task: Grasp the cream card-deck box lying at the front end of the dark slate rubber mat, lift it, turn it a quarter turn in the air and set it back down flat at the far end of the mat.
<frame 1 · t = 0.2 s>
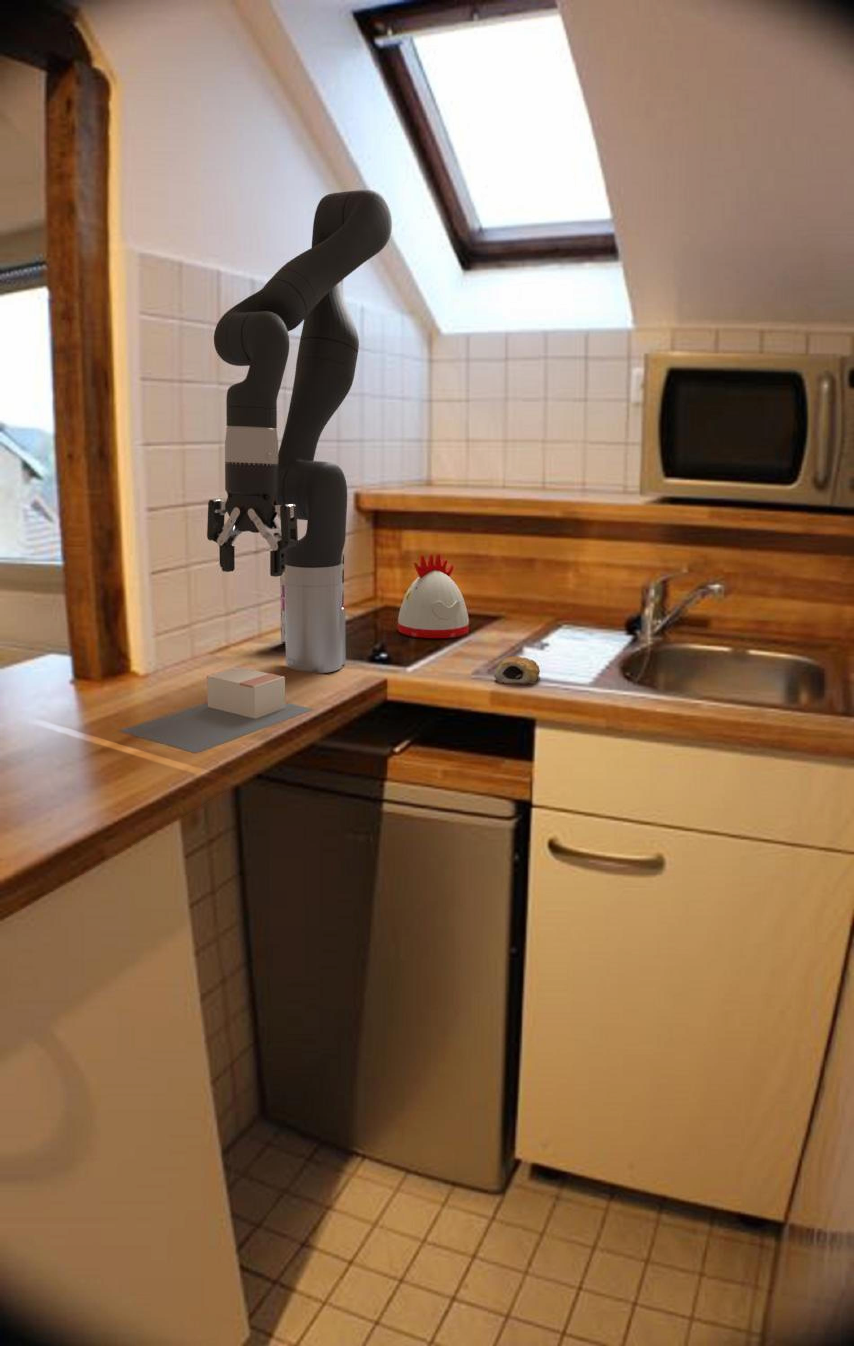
hand: (251, 573, 137), 18 cm above the worktop, tool pointing down, fingers open, 8 cm apart
card deck: (246, 707, 130), point 1 cm above the worktop, touching mat
candy bar box: (313, 642, 172), on the worktop
mat: (220, 723, 125), on the worktop
pastry: (517, 680, 150), on the worktop
kitchen timer: (433, 631, 183), on the worktop
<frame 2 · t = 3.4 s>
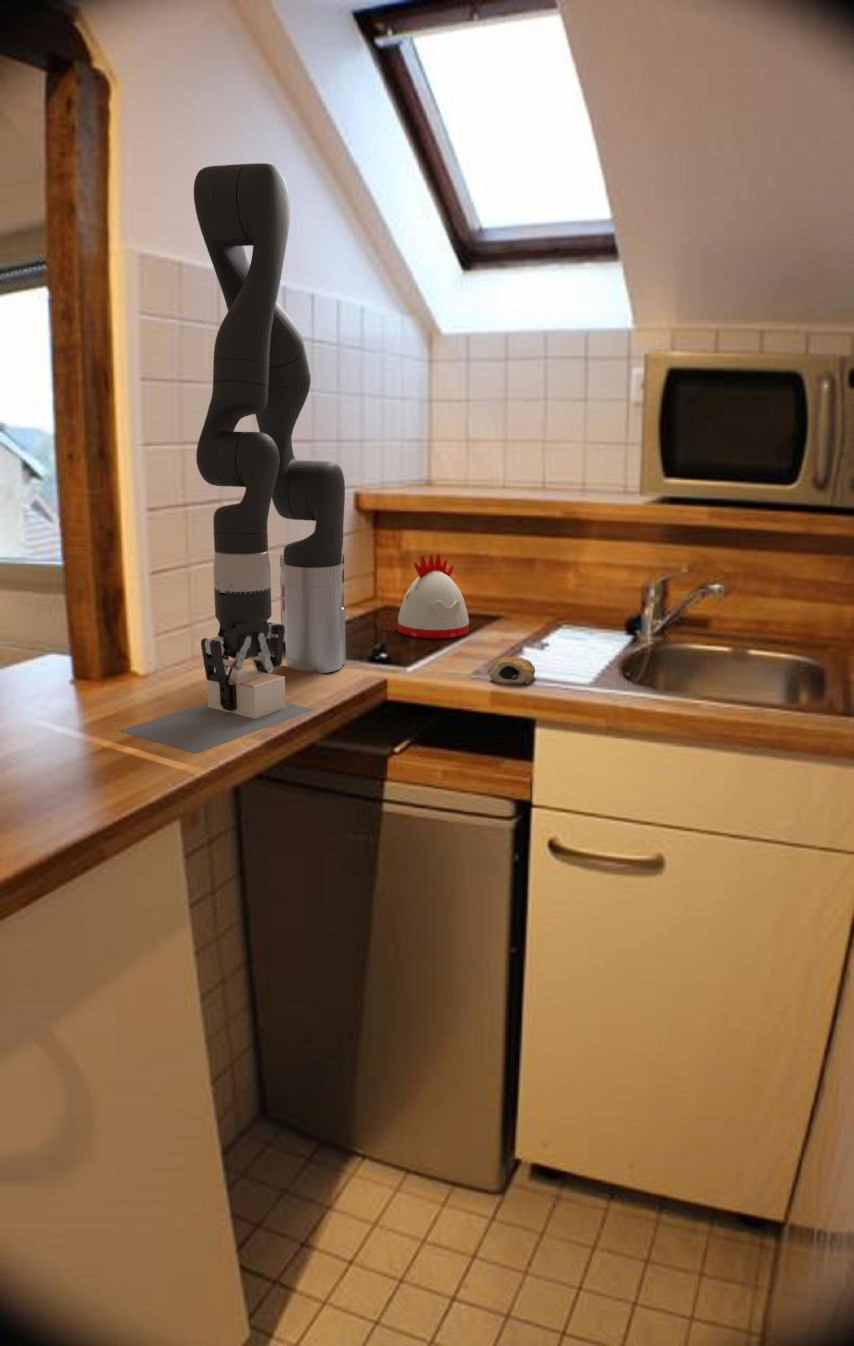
hand: (246, 703, 130), 1 cm above the worktop, tool pointing down, fingers closed on card deck, 6 cm apart
card deck: (246, 707, 130), point 1 cm above the worktop, touching gripper, mat
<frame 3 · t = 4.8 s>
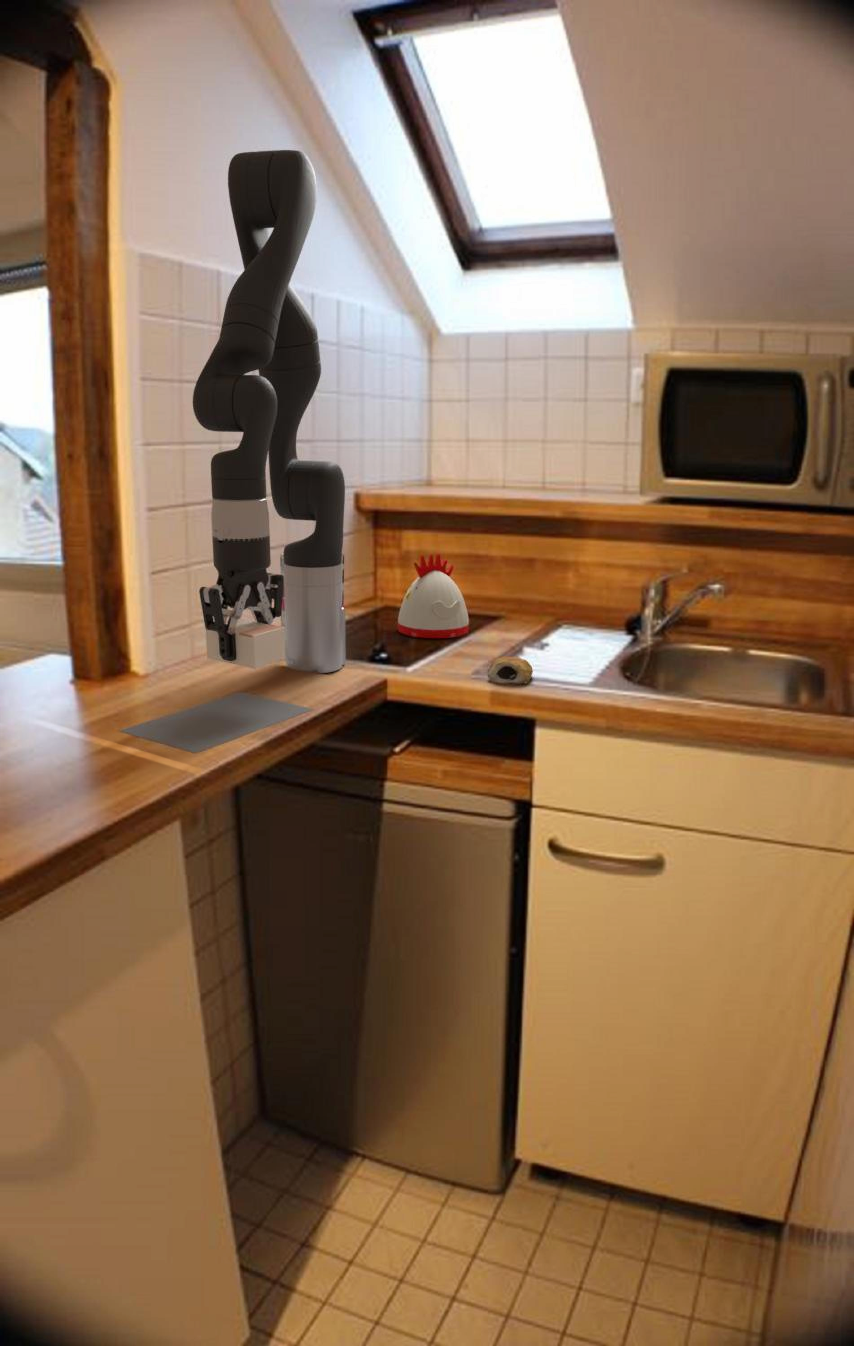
hand: (246, 654, 128), 8 cm above the worktop, tool pointing down, fingers closed on card deck, 6 cm apart
card deck: (246, 658, 129), point 8 cm above the worktop, touching gripper
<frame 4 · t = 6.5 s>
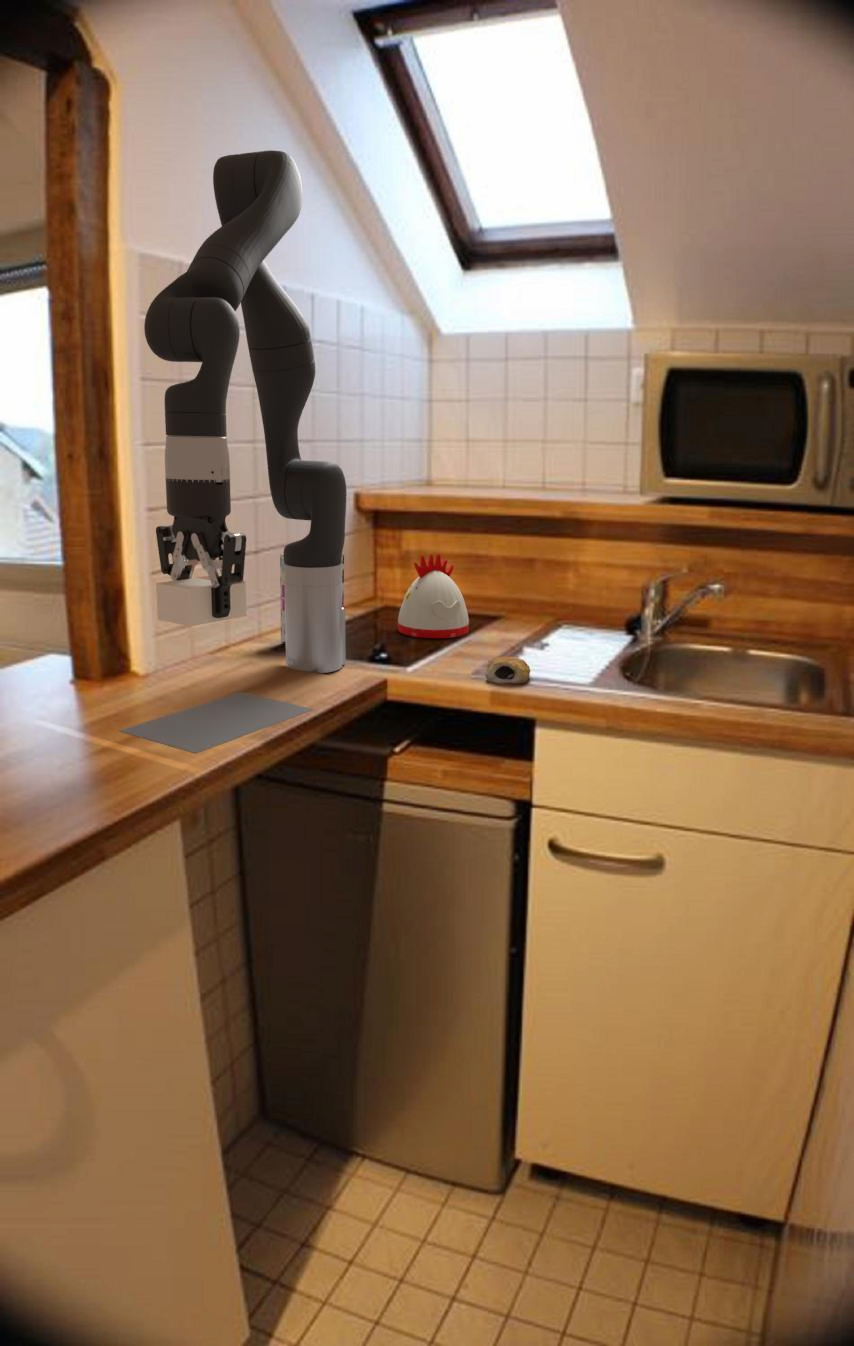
hand: (202, 613, 116), 16 cm above the worktop, tool pointing down, fingers closed on card deck, 6 cm apart
card deck: (202, 617, 116), point 16 cm above the worktop, touching gripper
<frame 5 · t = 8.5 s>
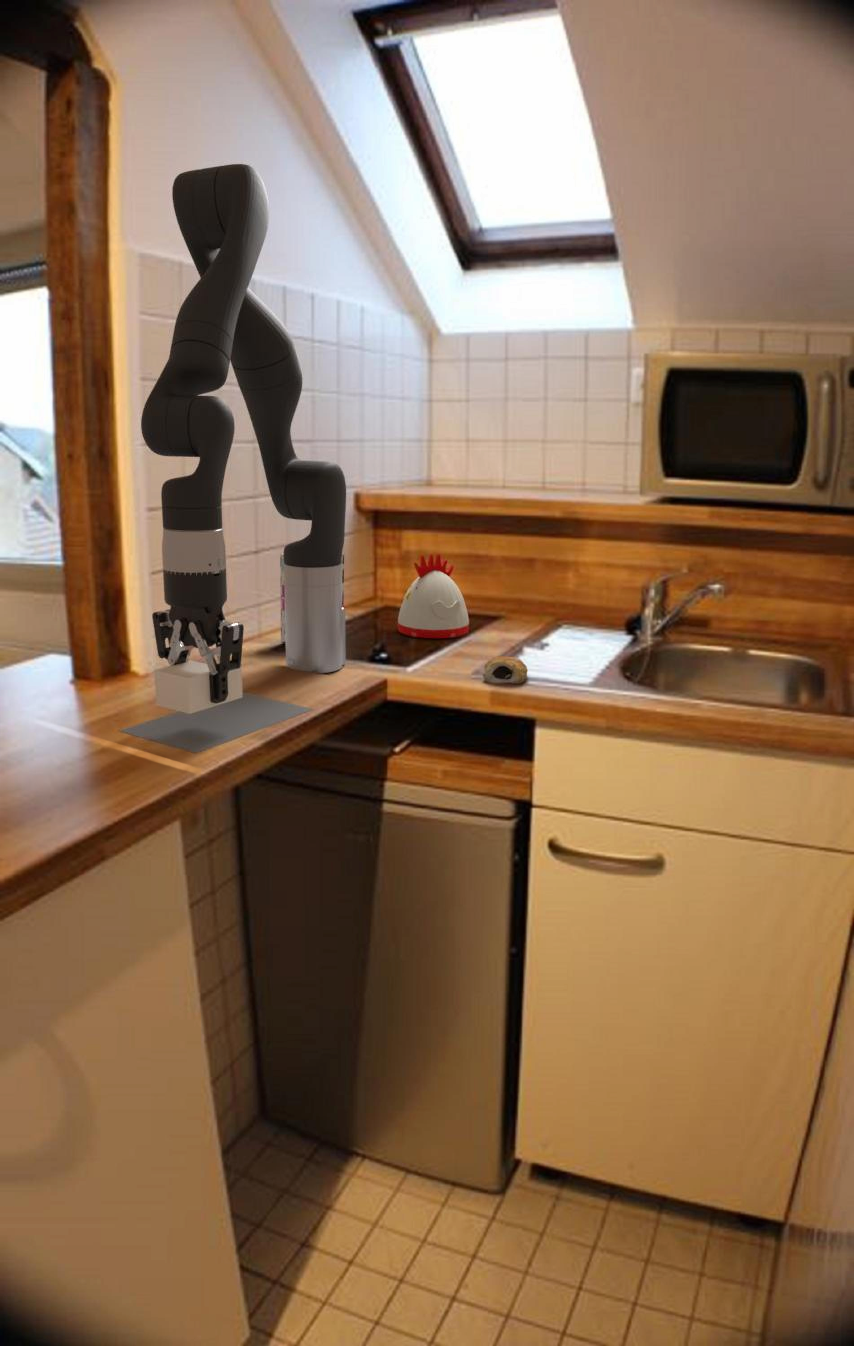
hand: (200, 696, 118), 5 cm above the worktop, tool pointing down, fingers closed on card deck, 6 cm apart
card deck: (200, 701, 118), point 5 cm above the worktop, touching gripper
when the fingers open (3 cm above the worktop, at t = 10.1 s): card deck drops 1 cm, resting on mat.
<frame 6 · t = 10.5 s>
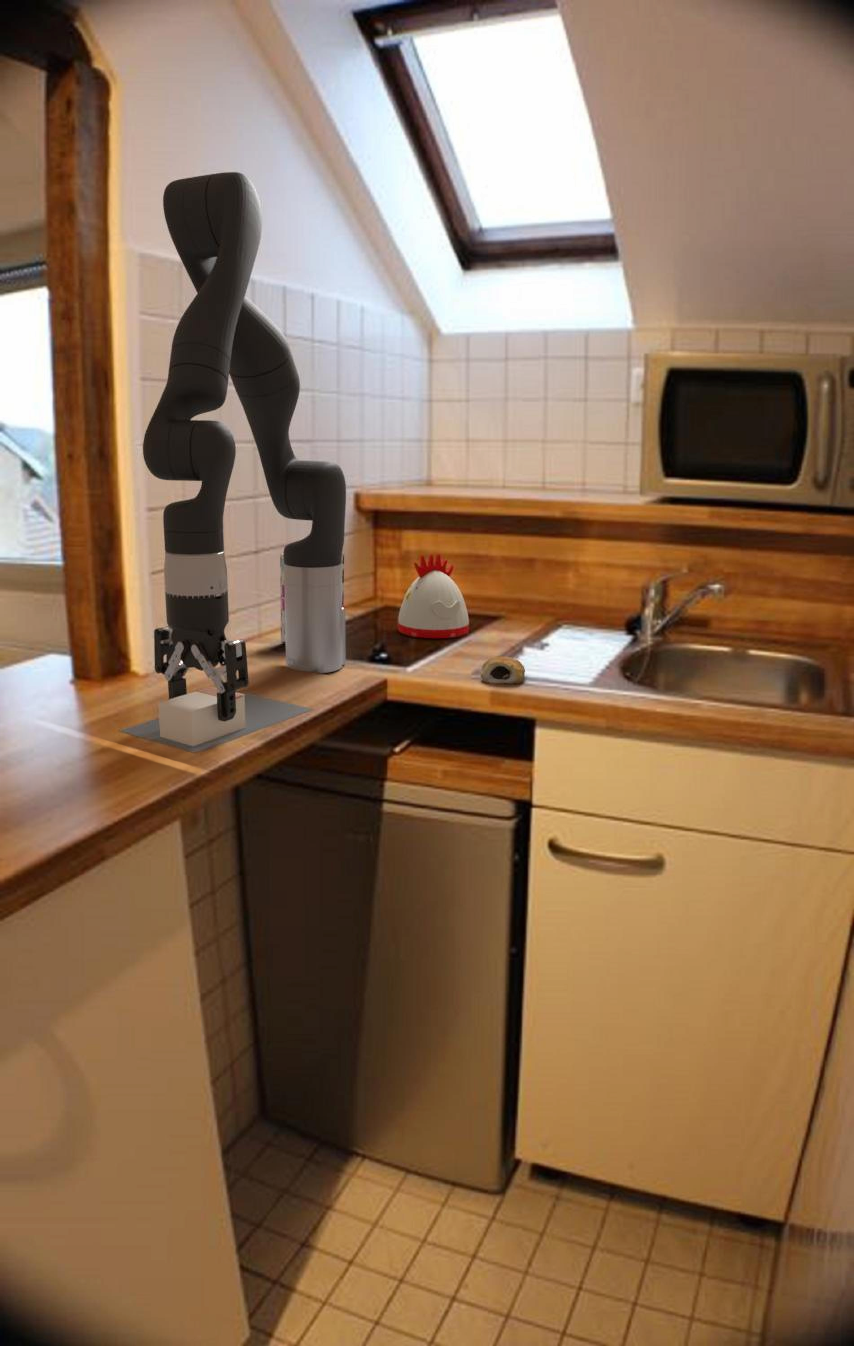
hand: (202, 713, 119), 3 cm above the worktop, tool pointing down, fingers open, 8 cm apart
card deck: (203, 732, 120), point 1 cm above the worktop, touching mat
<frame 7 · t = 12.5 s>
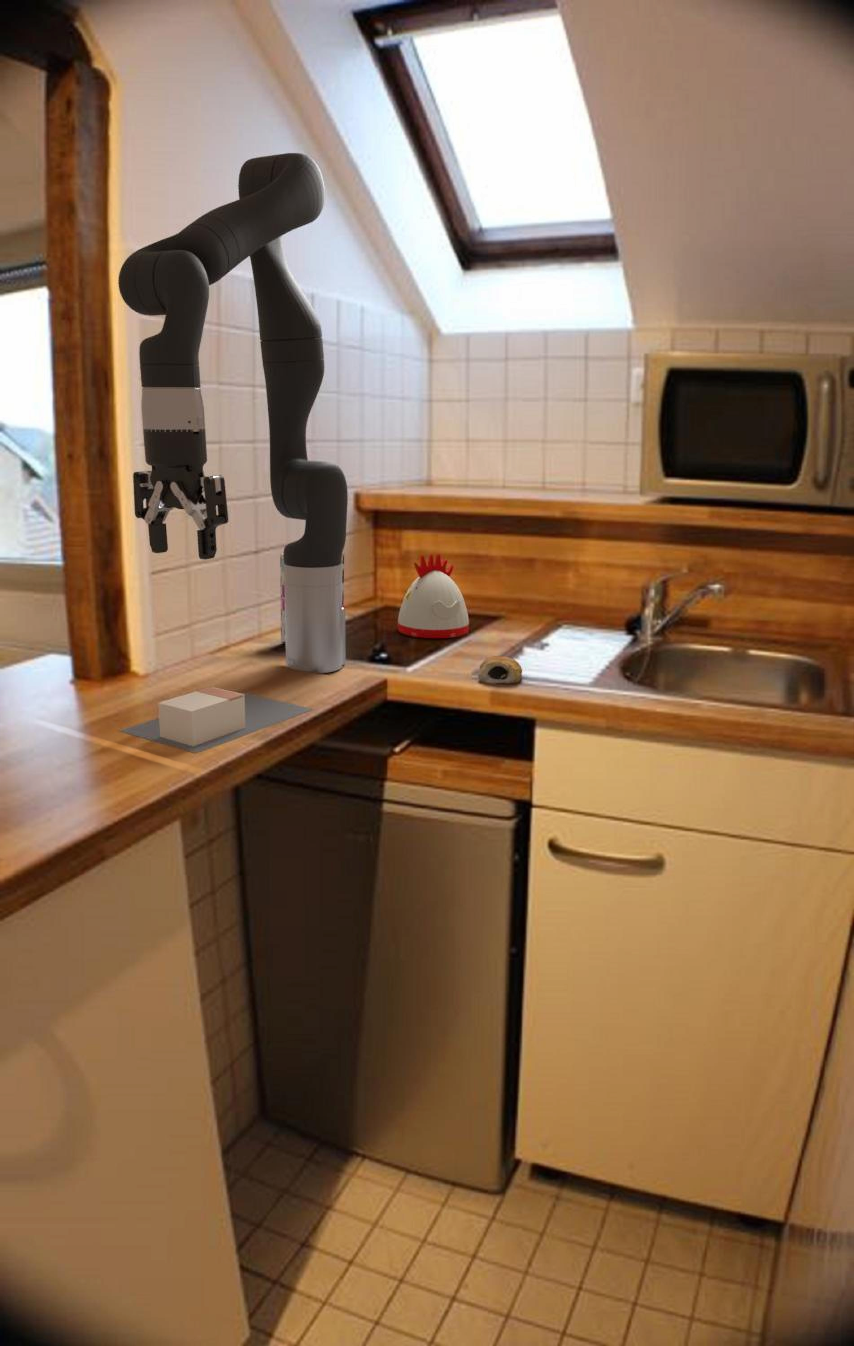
hand: (183, 555, 121), 22 cm above the worktop, tool pointing down, fingers open, 8 cm apart
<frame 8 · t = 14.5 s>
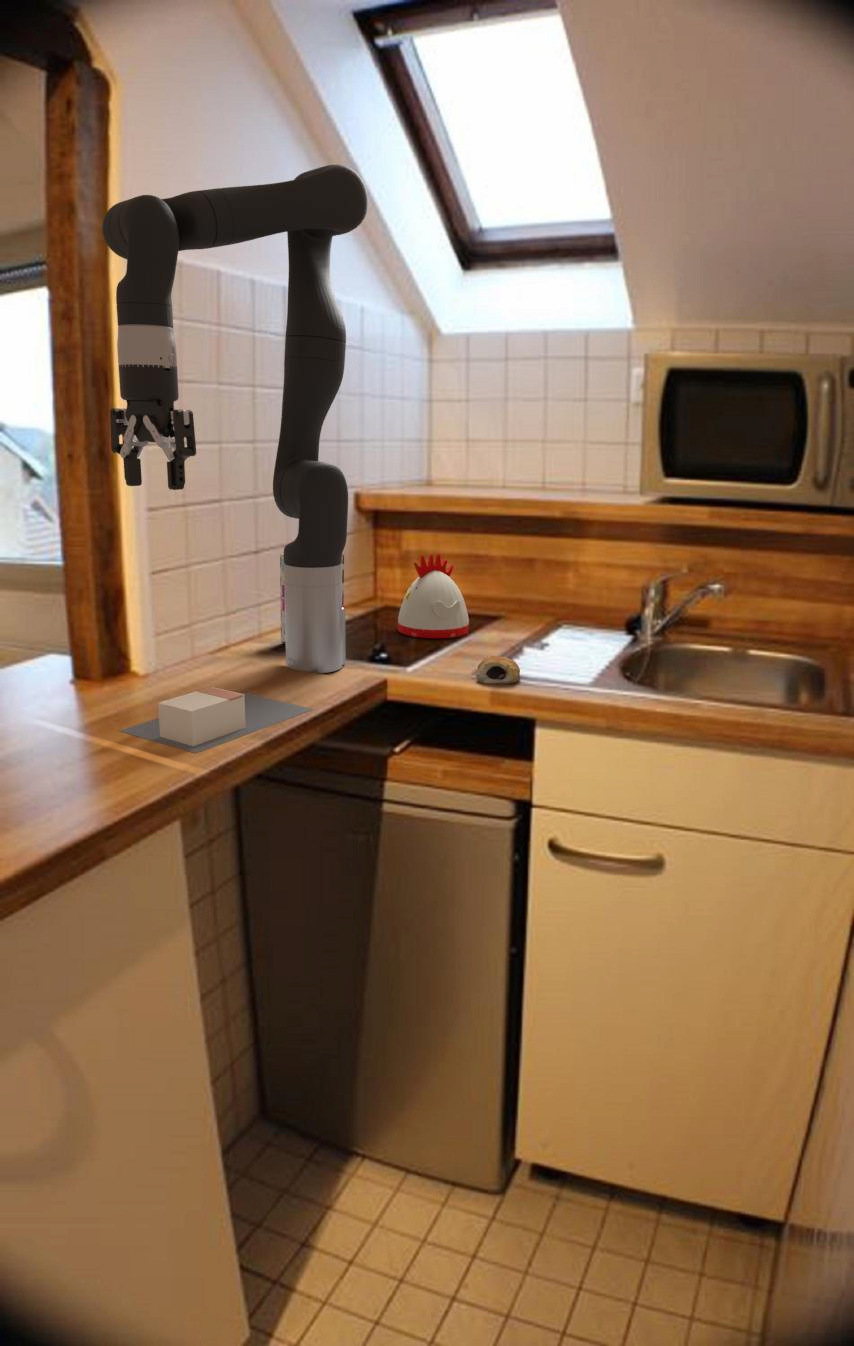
hand: (154, 487, 128), 30 cm above the worktop, tool pointing down, fingers open, 8 cm apart
at the end: card deck inside the target area on the mat (0.5 cm from its centre), point 0.6 cm above the mat's base; card deck tilted 0°; the gripper is holding nothing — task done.
